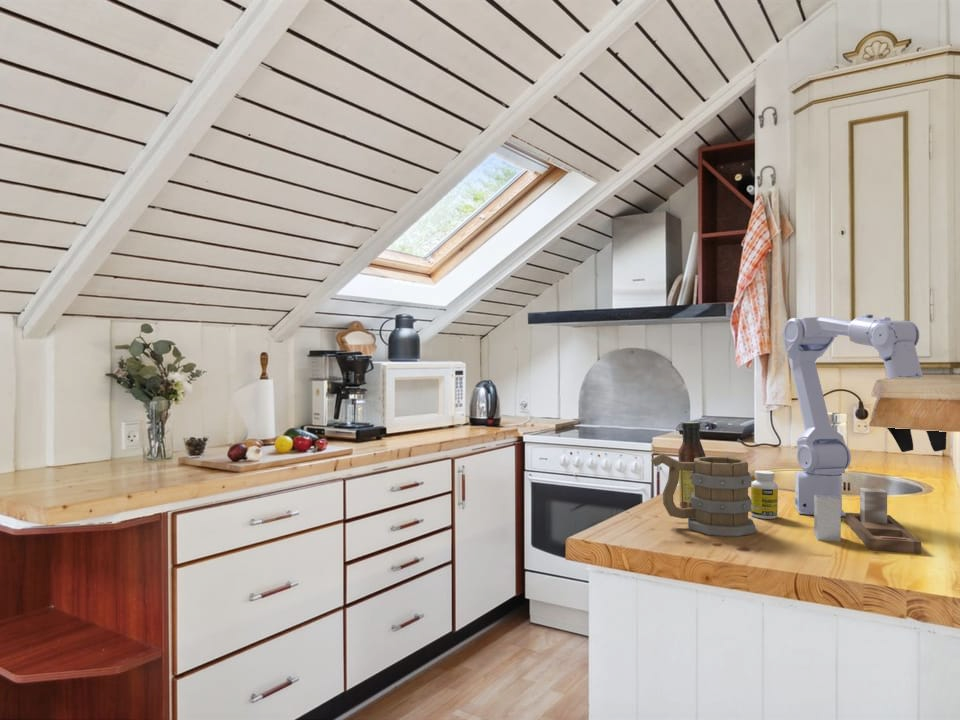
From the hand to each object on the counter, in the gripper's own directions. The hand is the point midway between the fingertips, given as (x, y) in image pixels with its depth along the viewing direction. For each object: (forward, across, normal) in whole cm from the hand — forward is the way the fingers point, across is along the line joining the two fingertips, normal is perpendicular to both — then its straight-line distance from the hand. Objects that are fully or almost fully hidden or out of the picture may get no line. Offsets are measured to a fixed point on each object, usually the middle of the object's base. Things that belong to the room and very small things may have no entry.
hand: (923, 450), depth 130 cm
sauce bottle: (+5, -23, +43) cm, 49 cm away
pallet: (+14, -2, +12) cm, 19 cm away
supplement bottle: (+8, -13, +32) cm, 35 cm away
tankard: (+10, -31, +28) cm, 43 cm away
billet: (+14, -13, +14) cm, 24 cm away
